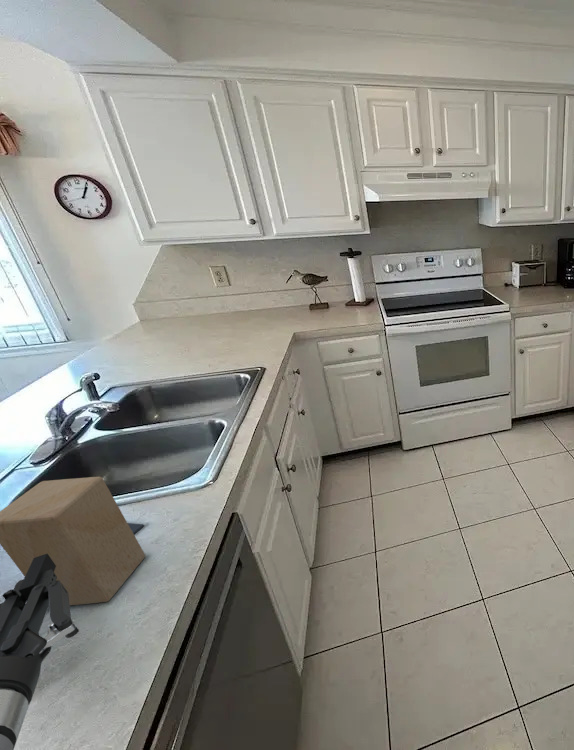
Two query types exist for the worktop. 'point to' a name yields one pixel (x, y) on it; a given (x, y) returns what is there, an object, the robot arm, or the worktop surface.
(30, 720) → the worktop surface
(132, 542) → the wooden block
